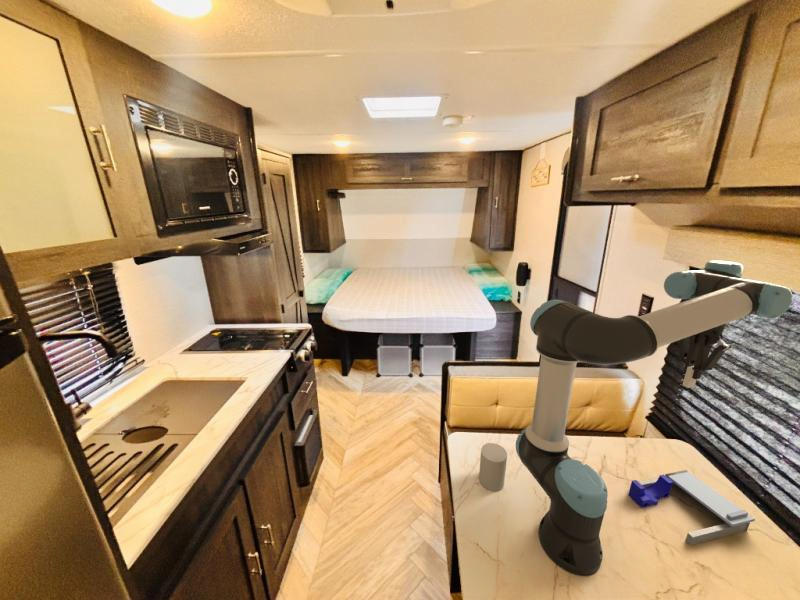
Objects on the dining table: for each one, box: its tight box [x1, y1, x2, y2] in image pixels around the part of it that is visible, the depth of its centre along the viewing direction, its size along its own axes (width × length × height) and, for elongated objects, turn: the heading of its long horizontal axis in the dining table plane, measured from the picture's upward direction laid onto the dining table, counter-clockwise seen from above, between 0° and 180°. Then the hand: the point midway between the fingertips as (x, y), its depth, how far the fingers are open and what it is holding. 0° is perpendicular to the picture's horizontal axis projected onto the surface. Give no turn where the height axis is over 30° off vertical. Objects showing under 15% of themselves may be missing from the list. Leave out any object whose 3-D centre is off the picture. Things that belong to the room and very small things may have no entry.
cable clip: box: [627, 474, 674, 509], centre depth 96 cm, size 12×4×6 cm, turn 101°
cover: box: [664, 469, 756, 527], centre depth 93 cm, size 8×18×2 cm, turn 11°
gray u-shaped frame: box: [638, 477, 751, 546], centre depth 93 cm, size 20×17×3 cm
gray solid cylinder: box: [478, 442, 508, 493], centre depth 101 cm, size 8×8×12 cm
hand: (688, 385), depth 96 cm, fingers closed
